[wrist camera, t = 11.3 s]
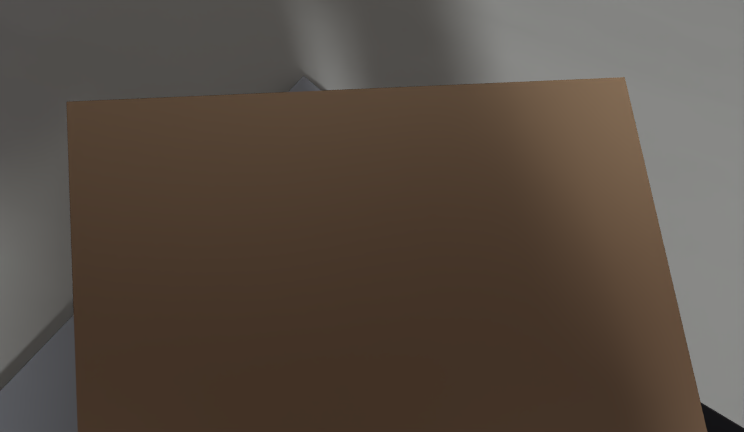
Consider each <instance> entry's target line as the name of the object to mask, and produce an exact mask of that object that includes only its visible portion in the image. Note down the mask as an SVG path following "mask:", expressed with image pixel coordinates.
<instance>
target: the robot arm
mask: <svg viewBox="0 0 744 432" xmlns="http://www.w3.org/2000/svg"><path fill="white" fill-rule="evenodd" d="M700 403H701V402H700ZM701 407H702V411H703V415H704V420H705V424H706V428H707V432H744V428H743V427H741V426H739V425H738V424H736V423H734V422H733V421H731V420H729V419H728V418H726V417H724V416H723V415H721V414H719V413H718V412H716V411H714V410H713V409H711V408H709V407H708V406H706V405H704V404H703V403H701Z"/></svg>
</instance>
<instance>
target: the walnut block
mask: <svg viewBox="0 0 744 432" xmlns="http://www.w3.org/2000/svg"><path fill="white" fill-rule="evenodd" d="M67 131H68V160H69V190H70V219H71V249H72V279H73V308H74V338H75V367H76V397H77V427H78V432H707V428H706V424H705V420H704V415H703V411H702V407H701V403H700V398H699V394H698V390H697V385H696V381H695V377H694V373H693V368H692V364H691V360H690V355H689V351H688V347H687V343H686V338H685V334H684V330H683V325H682V321H681V317H680V313H679V308H678V304H677V300H676V295H675V291H674V287H673V283H672V278H671V274H670V270H669V266H668V261H667V257H666V253H665V248H664V244H663V240H662V236H661V231H660V227H659V223H658V218H657V214H656V210H655V206H654V201H653V197H652V193H651V188H650V184H649V180H648V176H647V171H646V167H645V163H644V158H643V154H642V150H641V146H640V141H639V137H638V133H637V128H636V124H635V120H634V116H633V111H632V107H631V103H630V99H629V94H628V90H627V86H626V81H625V77H622V78H599V79H576V80H553V81H530V82H507V83H485V84H462V85H439V86H416V87H393V88H370V89H347V90H324V91H302V92H279V93H256V94H233V95H210V96H187V97H164V98H141V99H119V100H96V101H73V102H67Z"/></svg>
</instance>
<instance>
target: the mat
mask: <svg viewBox="0 0 744 432" xmlns="http://www.w3.org/2000/svg"><path fill="white" fill-rule="evenodd" d="M302 91H321V90H320V89H319V88H318V87H317V86H315V85H314V84H313V83H312V82H311V81H309V80H308V79H307V78H306V77H305V76H303V77H302V78H301V79H300V80H299V81H298V82H297V83H296V84H295V85H294V86H293V87H292V88H291V89H290V90H289V91H288V92H302ZM0 432H78V427H77V397H76V367H75V338H74V315H73V316H72V317H71V318H70V319H69V320H68V321H67V322H66V323H65V324H64V325H63V326H62V327H61V328H60V329H59V330H58V331H57V332H56V333H55V334H54V335H53V337H52V338H51V339H50V340H49V341H48V342H47V343H46V344H45V345H44V346H43V347H42V348H41V349H40V350H39V351H38V352H37V353H36V354H35V355H34V356H33V357H32V358H31V359H30V360H29V361H28V362H27V364H26V365H25V366H24V367H23V368H22V369H21V370H20V371H19V372H18V373H17V374H16V375H15V376H14V377H13V378H12V379H11V380H10V381H9V382H8V383H7V384H6V385H5V386H4V387H3V388H2V389H1V391H0Z"/></svg>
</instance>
